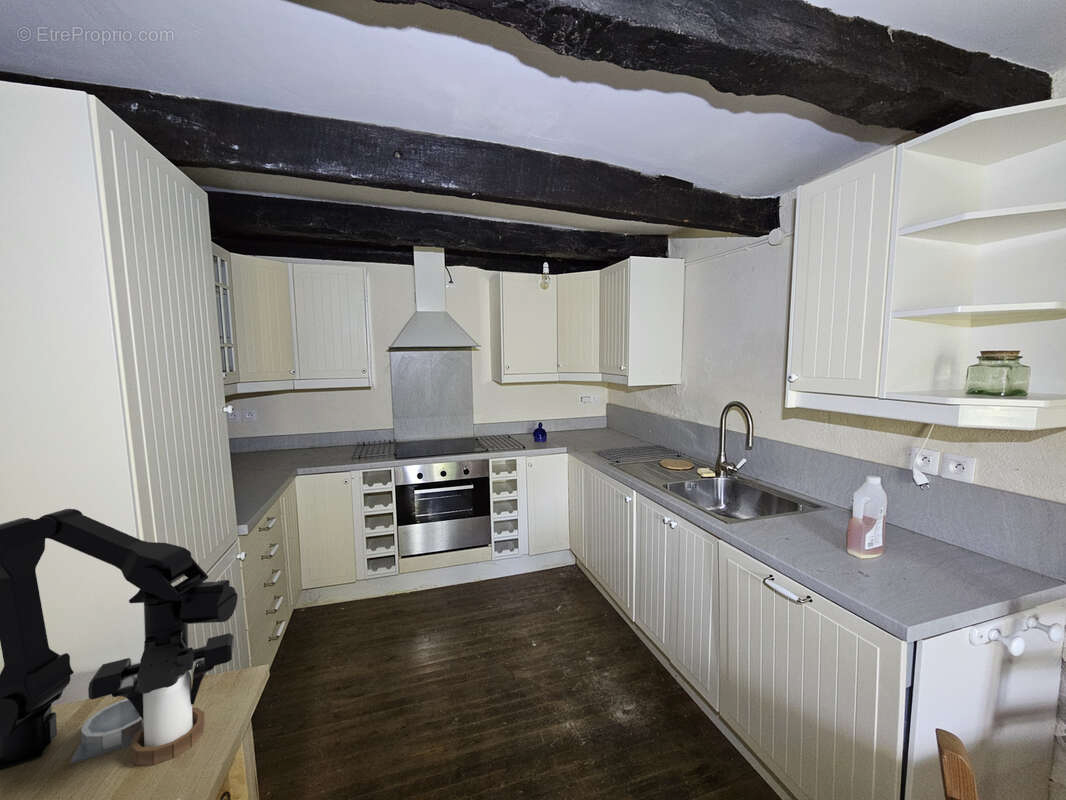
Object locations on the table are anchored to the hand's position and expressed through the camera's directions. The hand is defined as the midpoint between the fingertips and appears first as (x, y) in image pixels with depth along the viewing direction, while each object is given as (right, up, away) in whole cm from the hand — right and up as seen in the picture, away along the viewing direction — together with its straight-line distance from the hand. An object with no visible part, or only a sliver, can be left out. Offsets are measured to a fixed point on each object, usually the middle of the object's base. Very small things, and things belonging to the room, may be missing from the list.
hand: (169, 710), depth 75 cm
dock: (-11, -6, +2) cm, 12 cm away
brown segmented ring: (0, -6, 0) cm, 6 cm away
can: (0, -6, 0) cm, 6 cm away
